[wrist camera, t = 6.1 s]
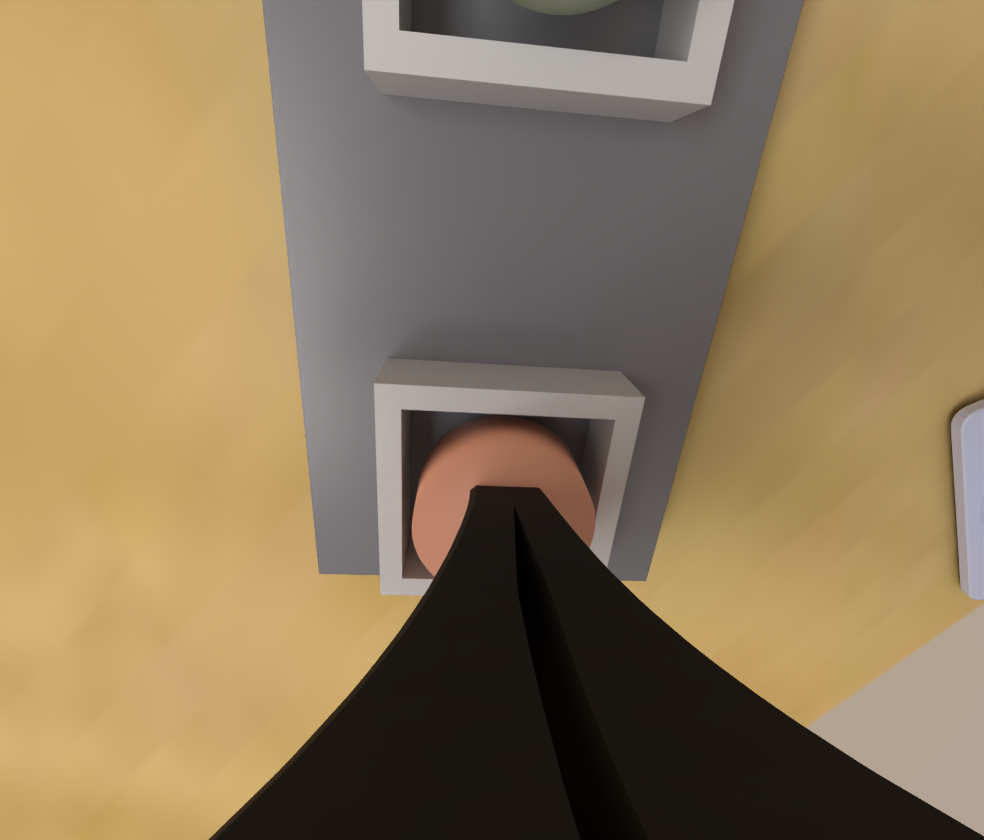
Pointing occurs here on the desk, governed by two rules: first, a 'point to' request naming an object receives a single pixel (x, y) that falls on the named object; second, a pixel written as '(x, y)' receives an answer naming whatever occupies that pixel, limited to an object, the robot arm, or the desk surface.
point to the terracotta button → (494, 479)
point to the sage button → (563, 6)
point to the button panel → (510, 240)
